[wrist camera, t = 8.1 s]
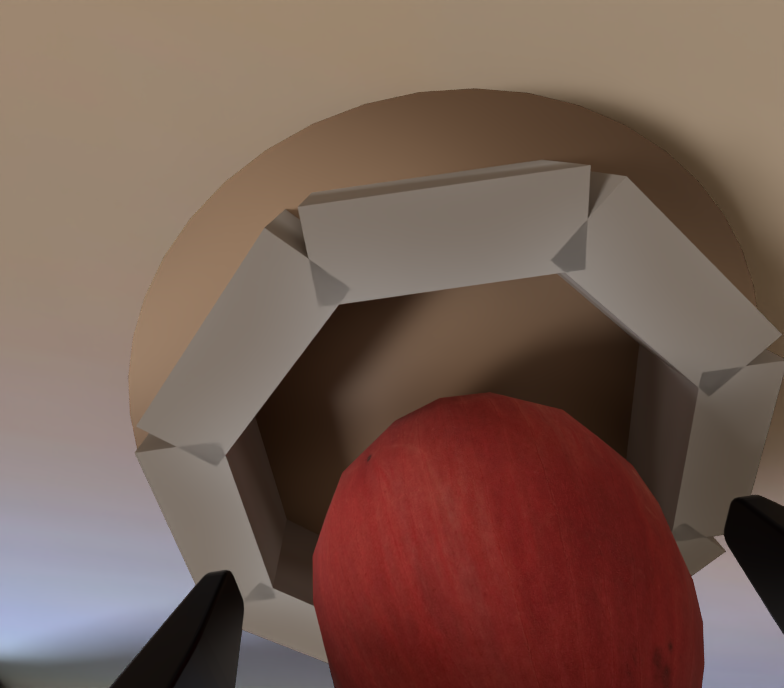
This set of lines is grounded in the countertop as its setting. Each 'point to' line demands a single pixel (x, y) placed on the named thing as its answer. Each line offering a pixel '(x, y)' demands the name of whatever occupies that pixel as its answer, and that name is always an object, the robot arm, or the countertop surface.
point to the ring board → (440, 324)
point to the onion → (501, 559)
